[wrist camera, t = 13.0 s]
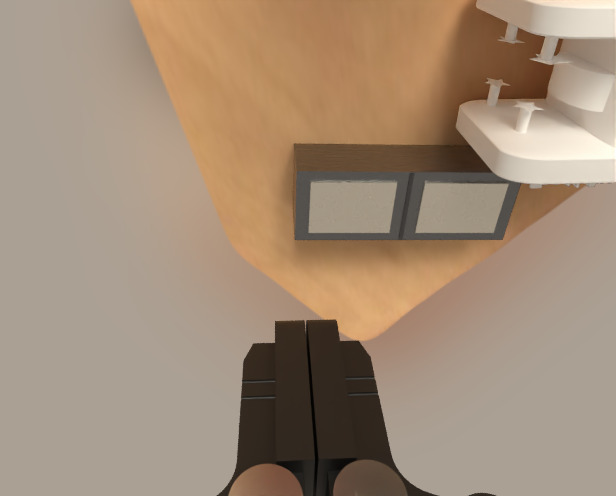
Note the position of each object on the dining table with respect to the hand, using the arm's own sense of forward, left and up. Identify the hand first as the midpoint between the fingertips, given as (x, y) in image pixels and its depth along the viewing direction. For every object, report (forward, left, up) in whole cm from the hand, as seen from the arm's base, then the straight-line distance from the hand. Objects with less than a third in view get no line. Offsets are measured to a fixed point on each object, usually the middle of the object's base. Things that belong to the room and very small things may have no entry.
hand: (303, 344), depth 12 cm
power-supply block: (+9, +9, -28) cm, 31 cm away
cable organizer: (-1, +20, -28) cm, 35 cm away
